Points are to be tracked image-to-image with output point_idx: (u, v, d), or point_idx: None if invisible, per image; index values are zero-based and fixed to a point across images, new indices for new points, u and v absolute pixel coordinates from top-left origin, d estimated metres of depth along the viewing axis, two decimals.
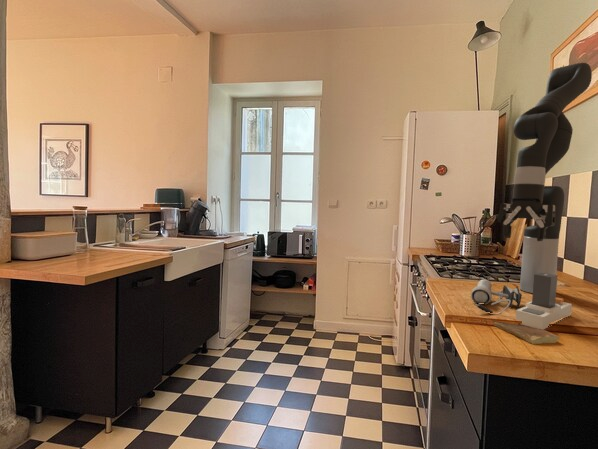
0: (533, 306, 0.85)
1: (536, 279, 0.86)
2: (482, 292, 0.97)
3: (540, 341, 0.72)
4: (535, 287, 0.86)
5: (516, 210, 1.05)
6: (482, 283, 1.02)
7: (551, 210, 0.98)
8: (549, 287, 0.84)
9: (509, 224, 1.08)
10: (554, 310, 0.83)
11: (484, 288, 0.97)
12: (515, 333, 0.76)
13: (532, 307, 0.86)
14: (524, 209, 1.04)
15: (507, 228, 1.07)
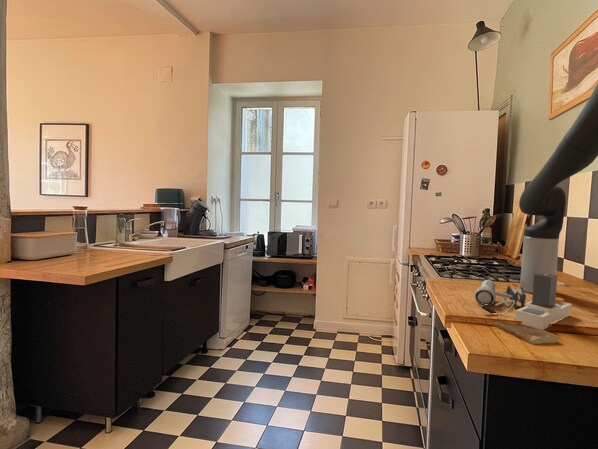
0: (533, 306, 0.85)
1: (536, 279, 0.86)
2: (486, 293, 0.97)
3: (540, 341, 0.72)
4: (535, 287, 0.86)
5: None
6: (486, 284, 1.01)
7: None
8: (549, 287, 0.84)
9: None
10: (554, 310, 0.83)
11: (488, 289, 0.97)
12: (515, 333, 0.76)
13: (532, 307, 0.86)
14: None
15: None
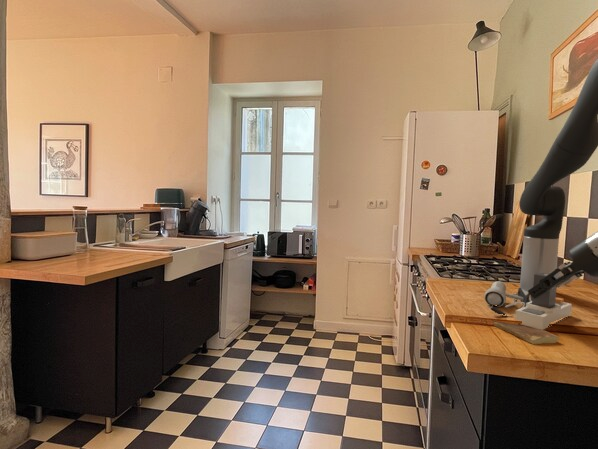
0: (533, 306, 0.85)
1: (536, 279, 0.86)
2: (496, 294, 0.95)
3: (540, 341, 0.72)
4: None
5: (572, 280, 0.80)
6: (496, 285, 1.00)
7: None
8: None
9: None
10: (554, 310, 0.83)
11: (498, 290, 0.96)
12: (515, 333, 0.76)
13: (532, 307, 0.86)
14: None
15: None
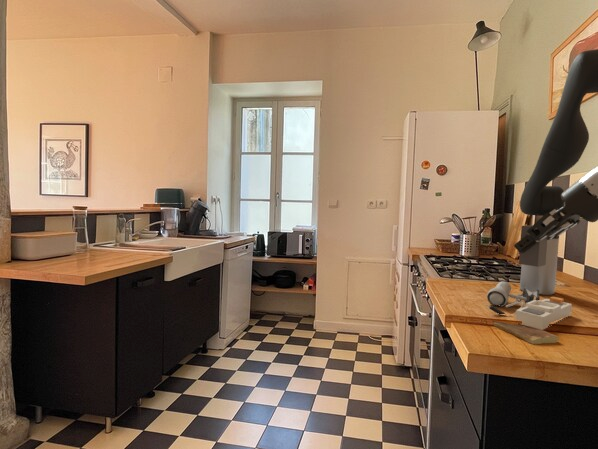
0: (533, 306, 0.85)
1: (524, 231, 0.74)
2: (498, 294, 0.96)
3: (540, 341, 0.72)
4: None
5: (565, 228, 0.69)
6: (500, 285, 1.00)
7: None
8: None
9: None
10: (554, 310, 0.83)
11: (500, 290, 0.96)
12: (515, 333, 0.76)
13: (532, 307, 0.86)
14: None
15: None
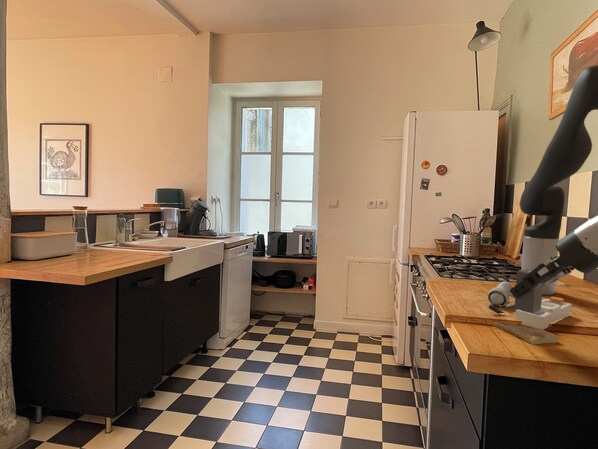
0: None
1: (519, 276, 0.75)
2: (498, 294, 0.96)
3: (540, 341, 0.72)
4: None
5: (559, 277, 0.70)
6: (501, 285, 1.00)
7: None
8: None
9: None
10: (554, 310, 0.83)
11: (501, 290, 0.96)
12: (515, 333, 0.76)
13: None
14: None
15: None
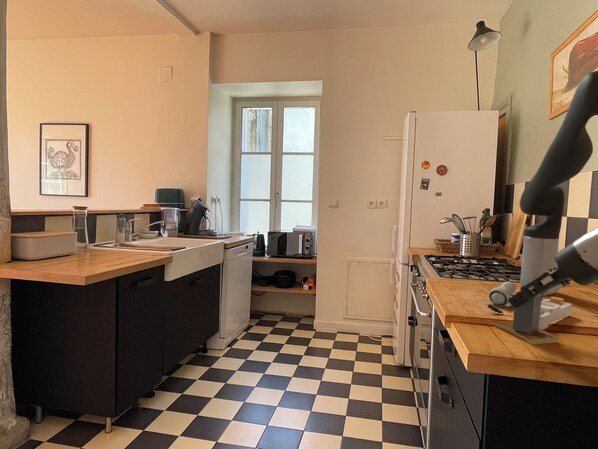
0: None
1: None
2: (499, 293, 0.96)
3: (540, 342, 0.72)
4: None
5: (558, 289, 0.70)
6: (504, 285, 1.00)
7: None
8: (532, 308, 0.73)
9: None
10: (554, 310, 0.83)
11: (502, 289, 0.97)
12: (515, 334, 0.76)
13: None
14: None
15: None
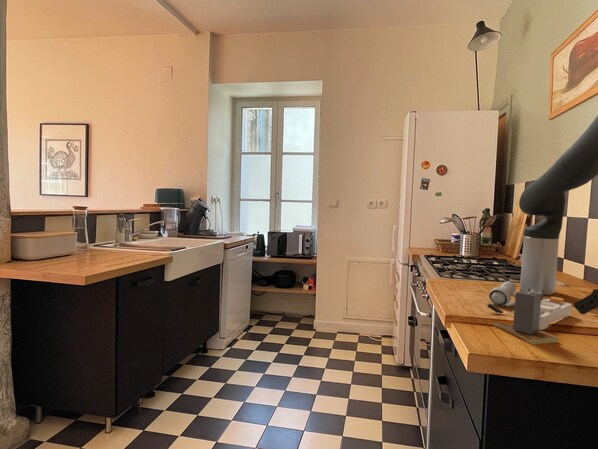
0: None
1: (518, 298, 0.76)
2: (499, 293, 0.97)
3: (540, 342, 0.72)
4: (517, 307, 0.76)
5: None
6: (504, 285, 1.01)
7: None
8: (532, 308, 0.74)
9: None
10: (554, 310, 0.83)
11: (502, 289, 0.97)
12: (515, 334, 0.76)
13: None
14: None
15: None
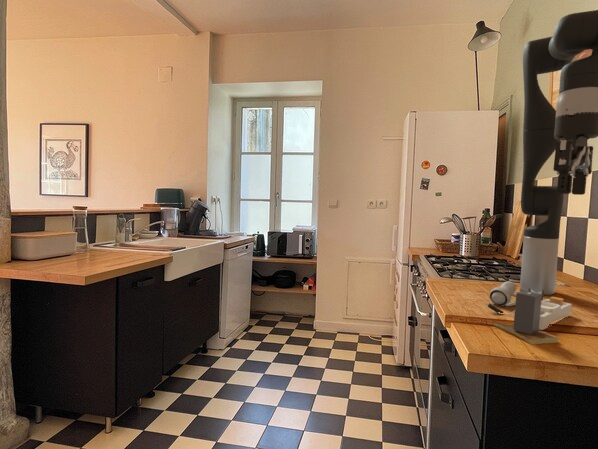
0: None
1: (518, 298, 0.75)
2: (499, 293, 0.97)
3: (540, 342, 0.72)
4: (517, 307, 0.76)
5: (583, 152, 0.72)
6: (504, 285, 1.01)
7: (592, 154, 0.77)
8: (533, 309, 0.73)
9: None
10: (554, 310, 0.83)
11: (502, 289, 0.97)
12: (515, 334, 0.76)
13: None
14: None
15: None
